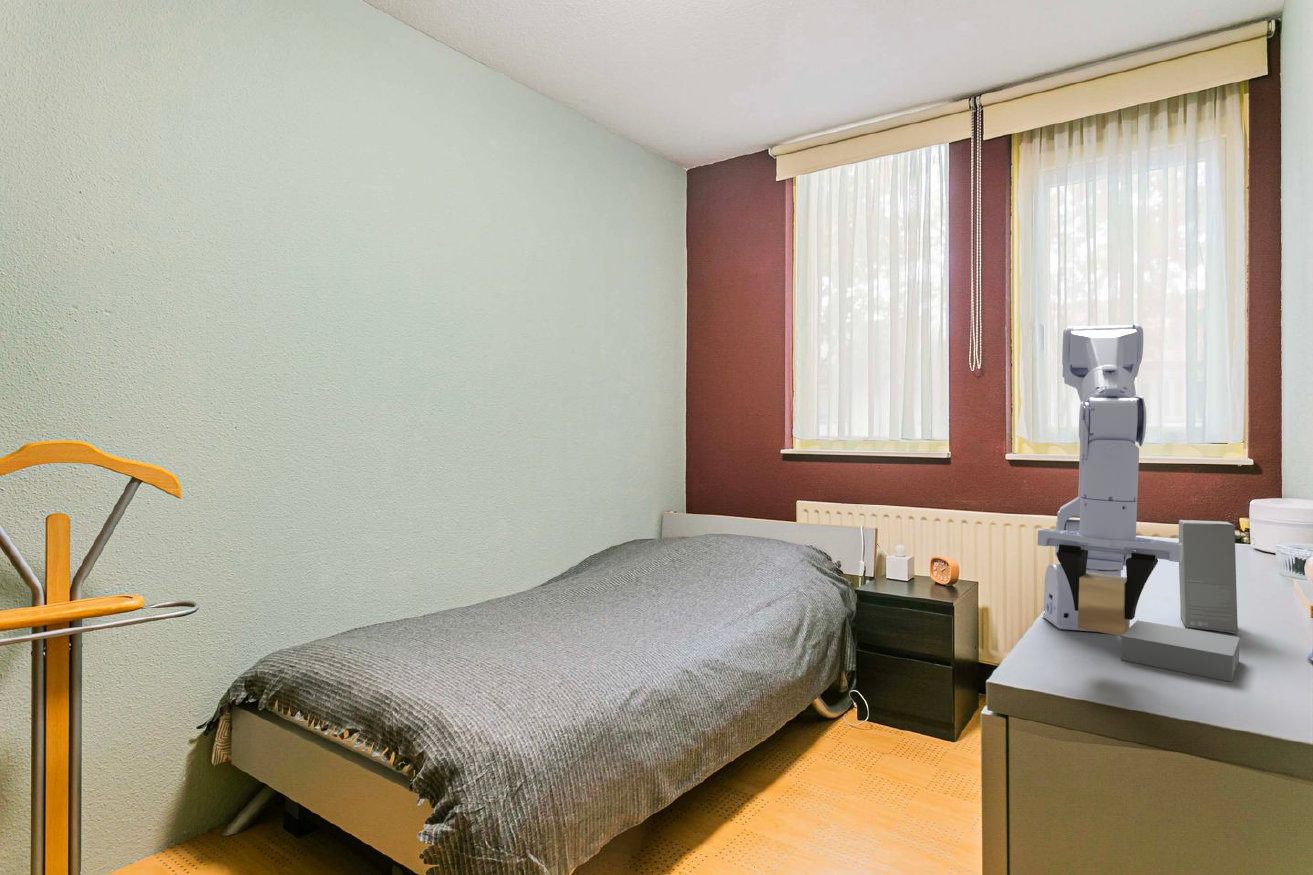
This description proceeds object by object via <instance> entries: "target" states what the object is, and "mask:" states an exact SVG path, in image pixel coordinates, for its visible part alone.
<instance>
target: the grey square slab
mask: <svg viewBox="0 0 1313 875" xmlns="http://www.w3.org/2000/svg"><path fill="white" fill-rule="evenodd" d="M1240 643H1241V637H1240V636H1234V635H1230V634H1229V635H1228V634H1223V633H1215V632H1210V631H1203V630H1197V629H1194V628H1188V627H1187V628H1185V627H1179V626H1175V625H1168V624H1161V623H1157V622H1156V623H1155V622H1149V621H1143V620H1138V619H1137V620H1136V621H1135V622H1134V623H1133V624H1132V625H1131V626H1129V629H1128V631H1127V632H1126V633H1125V634H1124V635H1123V636H1121V647H1120V649H1121V651H1120V660H1121V661H1126V662H1130V663H1134V664H1135V663H1136V664H1140V665H1144V666H1145V665H1146V666H1150V667H1151V666H1152V667H1156V668H1161V669H1166V670H1171V671H1175V672H1181V673H1184V674H1185V673H1186V674H1191V675H1196V676H1199V677H1200V676H1201V677H1206V678H1211V679H1214V680H1215V679H1216V680H1221V681H1225V682H1233V680H1234V676H1235V673H1236V671H1237V668H1238V666H1239V661H1240V645H1241V644H1240Z"/></svg>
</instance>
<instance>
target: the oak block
mask: <svg viewBox="0 0 1313 875" xmlns="http://www.w3.org/2000/svg"><path fill="white" fill-rule="evenodd" d="M1126 593H1127V576H1126V577H1124V576H1121V577H1119V576H1111V575H1104V574H1097V573H1089V572H1088V573H1086V574H1084V575H1083V576H1081V577H1079V605H1078V628H1080V629H1086V630H1091V631H1090V632H1095V631H1097V632H1098V633H1101V634H1102V633H1103V634H1109V635H1115V636H1121V637H1122V636H1123V635H1124V634H1125V633H1126V632H1127V631H1128V629H1129V628H1130V627H1131V626H1130V624H1131V622H1130V621H1131V620H1128V619H1125V602H1126ZM1097 632H1096V633H1097Z"/></svg>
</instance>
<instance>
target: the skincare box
mask: <svg viewBox="0 0 1313 875" xmlns="http://www.w3.org/2000/svg"><path fill="white" fill-rule="evenodd" d="M1178 543H1183V557H1182V561H1181V562H1178V573H1179V574H1178V575H1179V576H1178V578H1179V598H1180V599H1179V600H1180V603H1179V604H1180V619H1181V620H1182V622H1183V624H1184V626H1185V627H1187V628H1190V629H1201V630H1209V631H1217V632H1222V633H1228V634H1235V635H1236V634H1238V632H1239V626H1238V625H1239V623H1238V621H1239V620H1238V601H1237V600H1238V598H1237V597H1238V595H1237V567H1236V565H1237V562H1236V525H1235V524H1232V523H1231V522H1229V521H1220V520H1217V521H1216V520H1214V521H1213V520H1194V519H1193V520H1192V519H1190V520H1189V519H1180V520H1178Z"/></svg>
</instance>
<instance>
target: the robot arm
mask: <svg viewBox="0 0 1313 875" xmlns="http://www.w3.org/2000/svg"><path fill="white" fill-rule="evenodd" d="M1143 353H1144V329H1143V327H1142V326H1141V325H1140V324H1139V323H1133V324H1123V325H1121V324H1120V325H1119V324H1118V325H1096V326H1095V325H1094V326H1091V325H1090V326H1088V325H1087V326H1072V325H1068V326H1067V327H1065V329H1063V333H1062V352H1061V354H1062V355H1061V356H1062V357H1061V358H1062V360H1061V362H1062V363H1061V365H1062V378H1063V379H1064V380H1063V381H1064V383H1063V384H1066V385H1068V386H1070V387H1072V388H1074V389H1075V390H1076V391H1077V395H1078V396H1079V397H1078V398H1079V401H1080V405H1079V411H1078V412H1079V413H1078V438H1079V461H1078V462H1079V464H1078V466H1079V467H1078V490H1077V491H1078V496H1077V497H1075V498H1073V499H1072V500H1071V501H1069V502H1066V504H1063V505H1062V506H1060V507H1059V510H1058V511H1057V513H1056V522H1055V529H1052V528H1051V529H1049V528H1040V529H1037V546H1042V547H1054V553H1055V554H1054V555H1055V557H1056V558H1057V560H1058V562H1059V563H1060V564H1055V563H1053V564H1052V563H1051V564H1049V565H1048V566H1047V567H1046V570H1045V573H1044V574H1045V575H1044V590H1043V592H1044V595H1043V613H1044V611H1045V613H1044V614H1043V613H1041V615H1042V614H1043V616H1042V617H1043V618H1044V619H1046V620H1047V621H1048V622H1050V623H1051V624H1053V626H1055V627H1056V628H1057V629H1060V630H1071V631H1084V632H1092V631H1091V630H1086V629H1080V628H1078V605H1079V577H1081V576H1083V575H1084V574H1086V573H1088V572H1089V573H1097V574H1104V575H1111V576H1119V577H1122V571H1124V567H1125V569H1126V570H1125V574H1126V578H1127V593H1126V602H1125V619H1128V620H1130V621H1132V620H1134V618H1135V617H1136V611H1137V607H1138V603H1139V600H1140V597H1141V595H1142V592H1143V590H1144V588H1145V585H1146V583H1147V581H1148V580H1149V578H1150V575H1151V574H1152V572H1153V571H1154V569H1155V568H1156V567H1157V565H1158V563H1159V559H1160V560H1166V561H1169V562H1175V563H1176V562H1177V563H1179V562H1181V561H1182V557H1183V543H1179V542H1175V541H1174V542H1173V541H1165V540H1157V539H1153V538H1152V539H1151V538H1144V537H1137V519H1138V518H1137V514H1138V513H1137V512H1138V493H1139V492H1138V491H1139V490H1138V489H1139V470H1140V469H1139V465H1140V447H1143V443H1144V441H1145V438H1146V437H1145V436H1146V430H1147V408H1146V404H1145V399H1144V396H1141V395H1137V392H1136V385H1135V380H1136V378H1137V377H1138V374H1139V371H1140V366H1141V365H1142V364H1141V363H1142V361H1143ZM1136 443H1138V445H1139V447H1138V446H1137V445H1136ZM1071 518H1079V519H1071ZM1094 632H1096V633H1097V631H1094Z"/></svg>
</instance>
